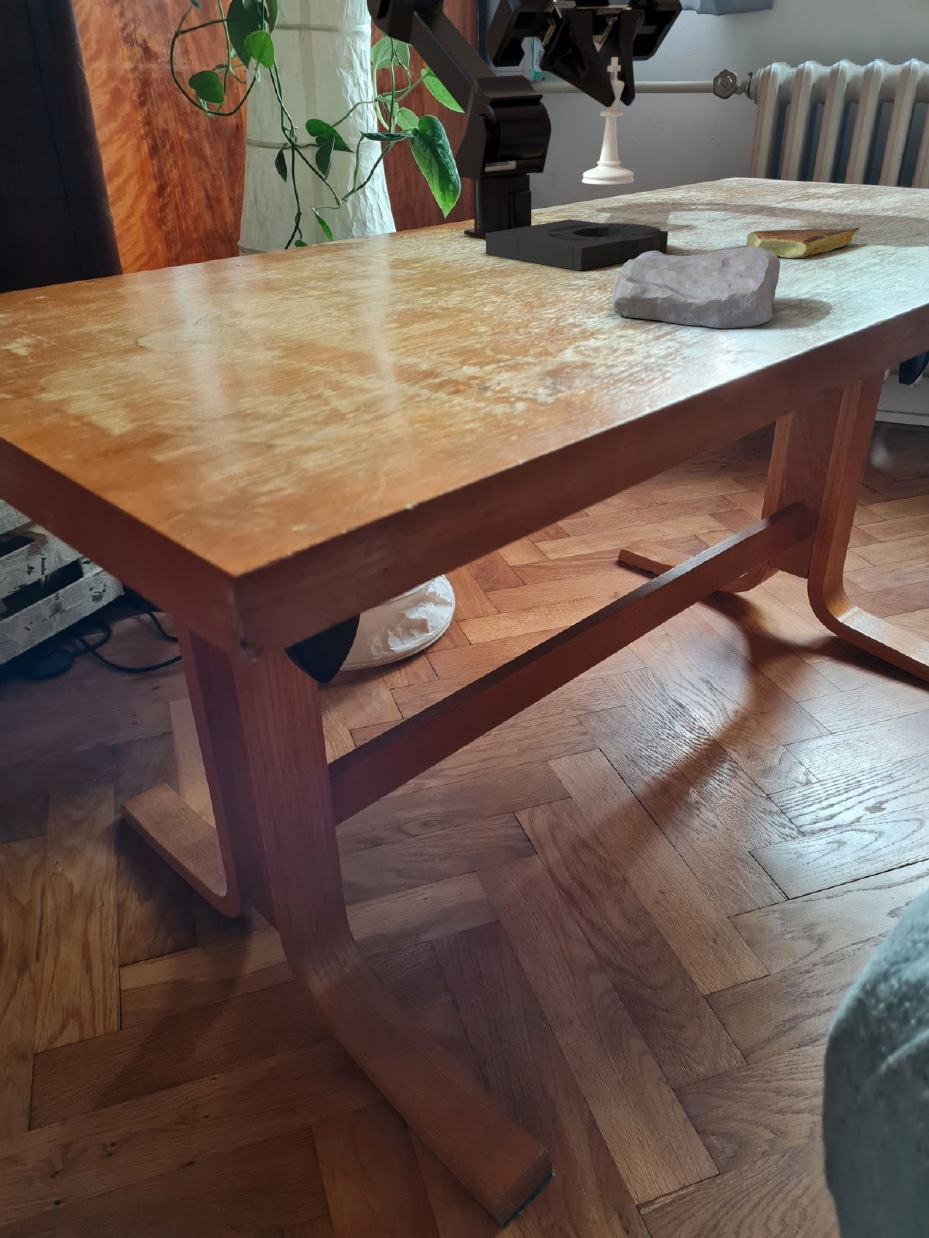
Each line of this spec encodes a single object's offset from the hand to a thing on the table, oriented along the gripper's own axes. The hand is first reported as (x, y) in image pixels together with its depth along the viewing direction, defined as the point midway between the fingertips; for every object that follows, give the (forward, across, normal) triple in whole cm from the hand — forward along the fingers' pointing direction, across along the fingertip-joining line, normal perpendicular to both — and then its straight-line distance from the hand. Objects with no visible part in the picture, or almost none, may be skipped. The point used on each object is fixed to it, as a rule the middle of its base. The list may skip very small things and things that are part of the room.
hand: (621, 103), depth 80 cm
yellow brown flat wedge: (+15, +16, +4) cm, 22 cm away
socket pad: (+6, -1, +13) cm, 14 cm away
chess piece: (+4, 0, +6) cm, 7 cm away
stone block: (+24, -9, -6) cm, 27 cm away
